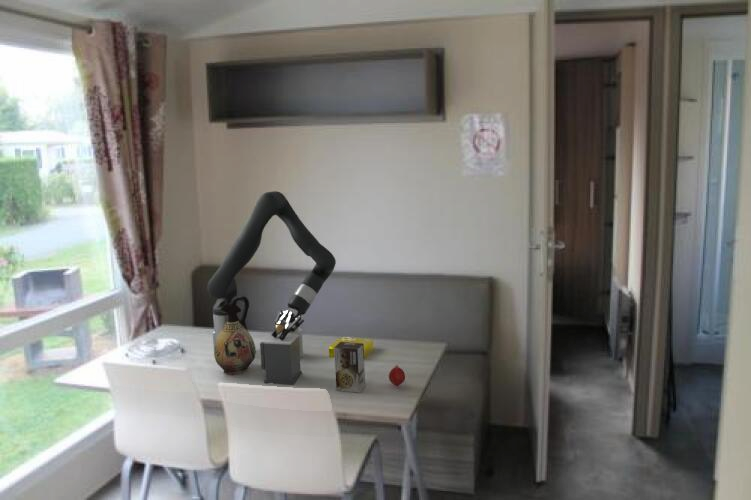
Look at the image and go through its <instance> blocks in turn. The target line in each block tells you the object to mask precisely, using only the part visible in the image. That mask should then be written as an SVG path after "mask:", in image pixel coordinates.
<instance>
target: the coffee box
mask: <svg viewBox="0 0 751 500" xmlns="http://www.w3.org/2000/svg"><path fill="white" fill-rule="evenodd" d="M334 356H335V358H334V368H335V371H334V372H335V387H336V388H335V391H338V392H350V393H359V394H360V393H361V392H362V391H363V390H364V388H366V377H365V376H366V373H365V372H366V371H365V370H366V369H365V358H364V345H363V343H350V342H340V343H339V344H337V346H335V347H334Z"/></svg>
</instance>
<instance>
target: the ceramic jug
mask: <svg viewBox="0 0 751 500" xmlns="http://www.w3.org/2000/svg"><path fill="white" fill-rule="evenodd" d="M236 302H237V303H238V302H244V306H243V310H242V309H241V308H240V307H239V306H238V304H237V305H235V303H236ZM249 308H250V301H249V299H248V298H247V296H245V295H242V294H237V296H235V297H234V298H233V299H232V301H231V303H230V304H229V303H227V302H226V301H225V300H223V301H222V302H221V303H220V304H219V305H218V306H217V309H216V311H218V312H223V313H226V314H227V315H228V320H227V322H226V324H225V325H224V327H223V328H222V330H221V332H220V334H219V336H218V338H217V340H216V344H215V350H214V349H213V356H214V359H215V362H216V364H217V366H219V367H220V368H221V369H222V370H223V374H225V375H227V376H237V375H242V374H245V373H247V372H248V371H249V369H250V366H251V364H252V363H253V362H254V361H255V359H256V355H257V354H256V353H257V352H256V344H255V341H254V339H253V337H252V336H251V333H250V332H249V330H248V326H247V324H246V319H247V316H248V312H249ZM241 312H242V313H241ZM238 313H241V317H240V318H239V317H238Z"/></svg>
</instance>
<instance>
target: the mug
mask: <svg viewBox="0 0 751 500" xmlns="http://www.w3.org/2000/svg"><path fill="white" fill-rule="evenodd" d="M294 327H295V326H294ZM294 327H293V328H294ZM288 334H299V349H300V359H301V358H302V357H304V345H303V329H302V328H301V327H298V328H297V329H296V330H295V331H294V332H292V331H291V332H289V333H288Z"/></svg>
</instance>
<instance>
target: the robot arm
mask: <svg viewBox="0 0 751 500" xmlns="http://www.w3.org/2000/svg"><path fill="white" fill-rule="evenodd" d="M274 216H276V217H278V218H279V219H280V220H281V221H282V222H283V223H284V224H285V226H286V227H287V228H288V231H289V233H290V235H291V238H292V240H293V242H294V243H295V245H297V246H298V248H299V249H300V250H301V251H302V252H303V254H305V256H307V257H309V258H311V259H312V260H313V261H314V262H315V265H314V267H313V268H312V270H311V271H310V273H308V274H307V275H306V276H305V278H304V280H303V281H302V282H301V284H300V285H299V286H298V287H297V289H296V290H295V291H294V293H293V294H292V296H291V297H290V299H289V300H288V302H287V308H286V309H284V310H281V309H280V310H278V312H277V316H276V318H275V320H274V322H273V323H274V325H276V324H278V323H285V324H286V326H285V328H284V329H283V330H282V332H281V333H280V335H279V336H278V334H276V331H275V328H274V329H272V332H271V335H272V336H273V337H275V338H276V337H277V336H278V338H279V339H280V340H282V341H283V340H284V339H285V337H286V336H287V334H288V333H289V332H291V331H292V332H294V331H295V330H296V329H297V328H300V326H301V325H302V324H303V323H304V322H305V320H304V319H303V317H302V316H303V315H305V314H306V313H307V311H308V310H309V308H310V307H311V305H312V303H314V301H315V299H316V297H317V295H318V294H319V292H320V290H321V288H322V287H323V285H324V283H326V281H327V280H328V278H329V277H330V276H331V274H332V273H333V271H334V269H335V267H336V262H337V260H336V258H335V255H333V253H332V252H331V251H330V250H329V249H327V248H326V247H325V246H324V245H323V244H321V242H320V241H318V239H317V238H316V237H315V236H314V234H312V233H311V231H310V230H309V229H308V228H307V227H306V225H305V224H304V223H303V221H302V220H301V219H300V217H299V216H298V214H297V213H296V211H295V210H294V209H293V207H292V205H291V204H290V202H289V201H288V199H287V197H286V196H285V195H284V194H283V193H282V192H280V191H277V190H274V191H268V192H263V193H262V194H260V195H259V197H258V199H257V200H256V202H255V205H254V207H253V209H252V211H251V213H250V216H249V217H248V219H247V220H246V223H245V224H244V225H243V227H242V229H241V231H240V232H239V234H238V236H237V237H236V238H235V240H234V241H233V243H232V246H231V247H230V249H229V251H228V252H227V253H226V255H225V257H224V259H223V262H222V263H221V265H220V266H219V267H218V269H217V270H216V271H215V273H214V274H213V276H212V277H211V278H210V279H209V280H208V283H207V288H206V289H207V294H208V295H209V297H210V298H212V299H216V301H215V303H214V305H213V307H212V315H213V316H212V317H213V329H214V330H213V331H212V343H213V344H212V345H213V351H214V350H215V344H216V340H217V338H218V336H219V334H220V332H221V330H222V328H223V327H224V325H225V324H226V322H227V320H228V315H227V314H226V313H223V312H218V311H216V309H217V306H218V305H219V304H220V303H221V302H222V301H223V300H225V301H226V302H227V303H229V304H230V303H231V301H232V299H233V298H234V297H235V296H238V285H237V281H236V276H237V274H238V273H239V272H240V271H241V270H242V269H244V268H245V267H246V265H247V264H249V262H250V261H251V260H252V258H253V257H254V256H255V254H256V253H257V251H258V249H259V248H260V245H261V244H262V243H261V242H262V236H263V231H264V229H265V227H266V226H267V225H268V223H269V221H270V220H271V219H272V218H273V217H274ZM235 305H237V306H238V301H237V302H236V303H235ZM293 327H294V328H293ZM271 335H270V336H271Z"/></svg>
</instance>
